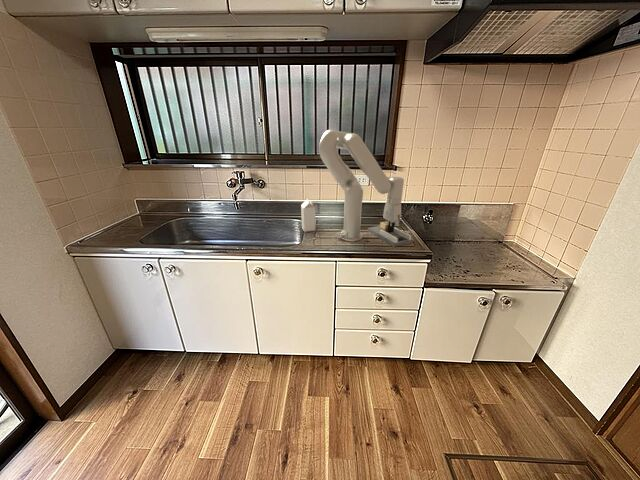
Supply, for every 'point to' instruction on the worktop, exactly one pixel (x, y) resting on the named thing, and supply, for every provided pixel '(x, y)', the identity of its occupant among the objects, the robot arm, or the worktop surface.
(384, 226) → the maple block
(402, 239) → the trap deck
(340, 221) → the worktop surface
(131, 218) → the worktop surface
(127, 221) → the worktop surface
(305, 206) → the milk carton
